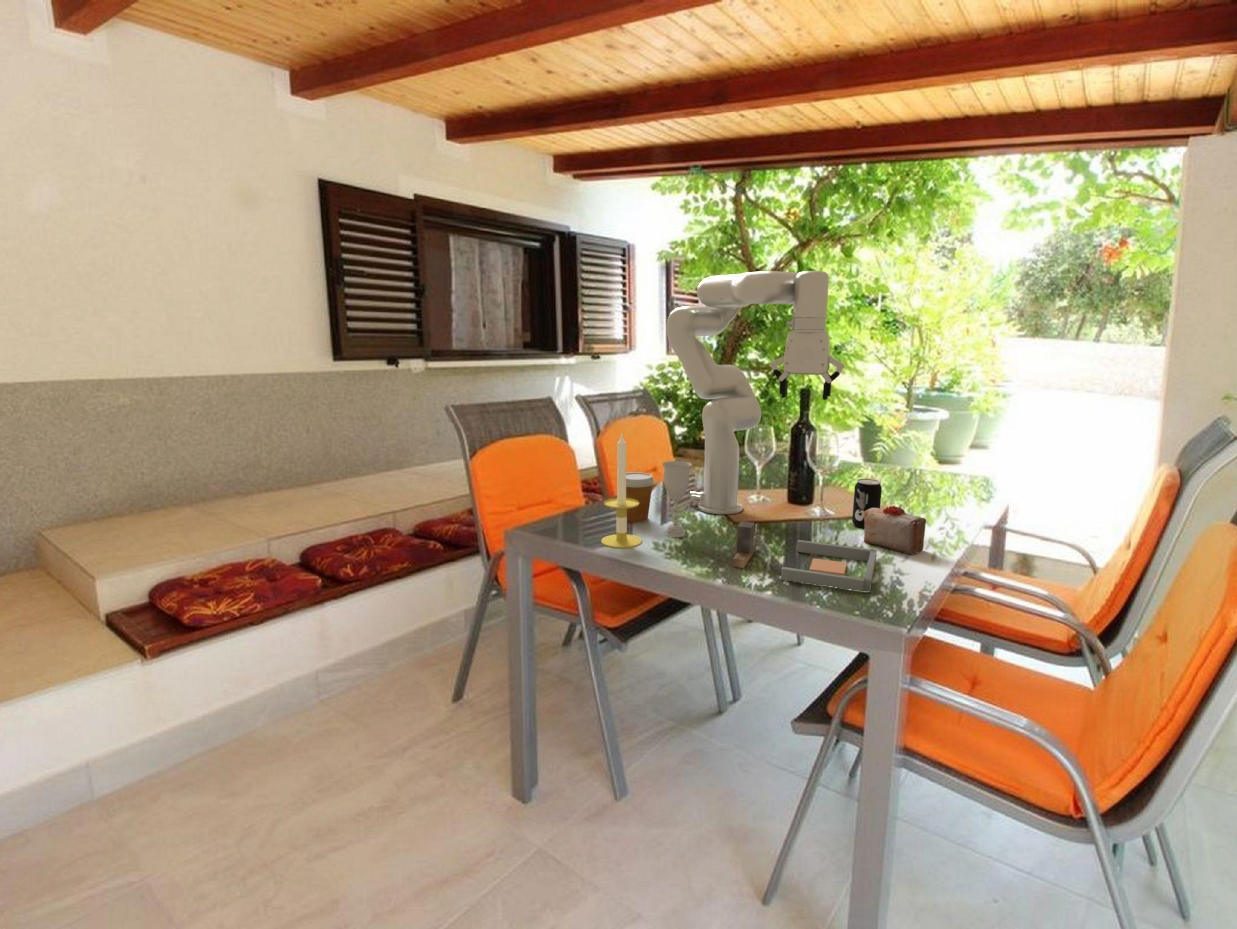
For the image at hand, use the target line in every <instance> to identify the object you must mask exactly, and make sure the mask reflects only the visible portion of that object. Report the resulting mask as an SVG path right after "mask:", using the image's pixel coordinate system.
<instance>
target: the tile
mask: <svg viewBox="0 0 1237 929" xmlns="http://www.w3.org/2000/svg"><path fill="white" fill-rule="evenodd" d="M846 569H847V562H845V561H837V560H829V559H820V558H812V561H811V563H810V567H809V570H808V571H815V572H822V573H829V574H836V575H843V576H845V575H844V574H845V573H846Z"/></svg>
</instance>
